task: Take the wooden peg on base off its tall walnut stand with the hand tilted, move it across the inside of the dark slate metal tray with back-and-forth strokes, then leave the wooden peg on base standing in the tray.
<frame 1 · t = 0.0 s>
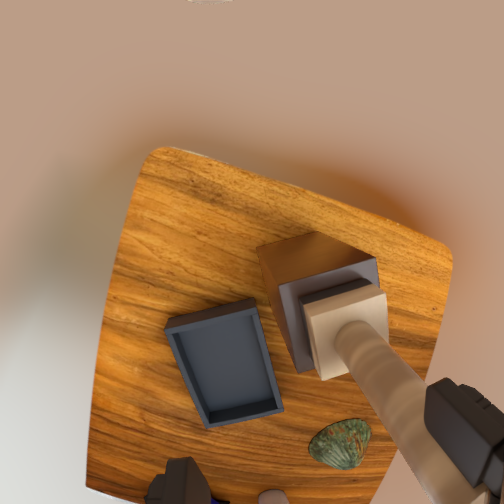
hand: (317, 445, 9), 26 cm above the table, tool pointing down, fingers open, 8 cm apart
stand: (294, 269, 35), on the table
wooden peg on base: (337, 319, 21), point 14 cm above the table, touching gripper, stand
cup: (271, 495, 42), on the table
seashell: (340, 441, 41), on the table
tray: (227, 362, 36), on the table
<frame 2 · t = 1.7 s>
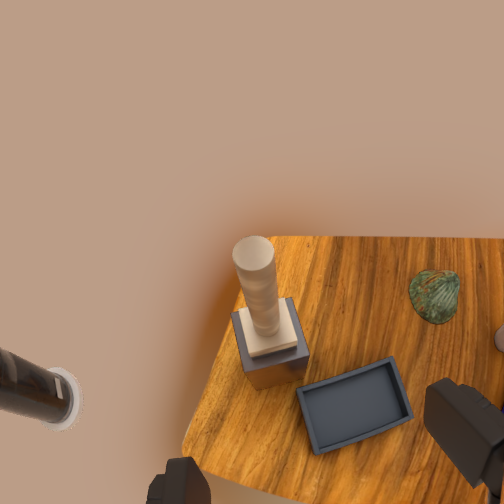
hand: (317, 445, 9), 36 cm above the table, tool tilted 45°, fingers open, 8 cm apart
stand: (274, 362, 45), on the table
wooden peg on base: (268, 333, 33), point 14 cm above the table, touching stand
cup: (502, 340, 40), on the table
seashell: (434, 296, 47), on the table
tray: (352, 407, 40), on the table
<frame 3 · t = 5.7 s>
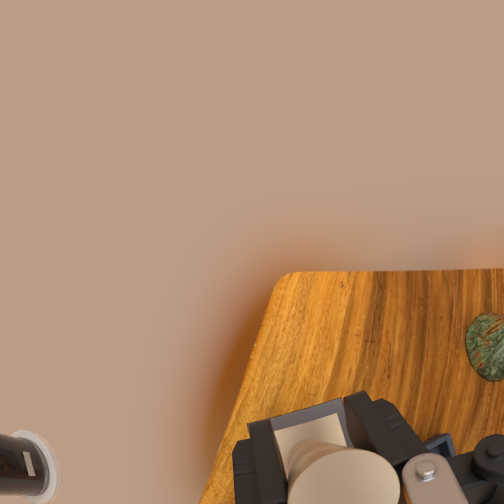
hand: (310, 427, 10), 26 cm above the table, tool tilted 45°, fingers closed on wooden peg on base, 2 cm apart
stand: (300, 447, 30), on the table
wooden peg on base: (306, 455, 18), point 14 cm above the table, touching gripper, stand
seashell: (492, 345, 32), on the table
tray: (396, 493, 25), on the table
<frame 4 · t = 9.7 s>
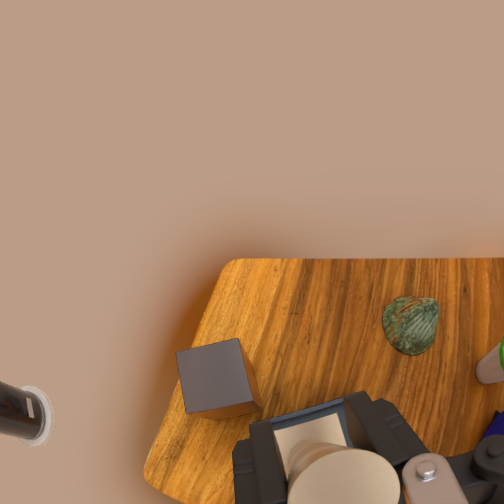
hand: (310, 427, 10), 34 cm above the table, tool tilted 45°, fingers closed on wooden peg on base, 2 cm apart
stand: (234, 393, 42), on the table
wooden peg on base: (306, 455, 18), point 23 cm above the table, touching gripper
cup: (485, 371, 38), on the table
seashell: (411, 324, 45), on the table
tray: (313, 441, 37), on the table
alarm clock: (494, 451, 30), on the table
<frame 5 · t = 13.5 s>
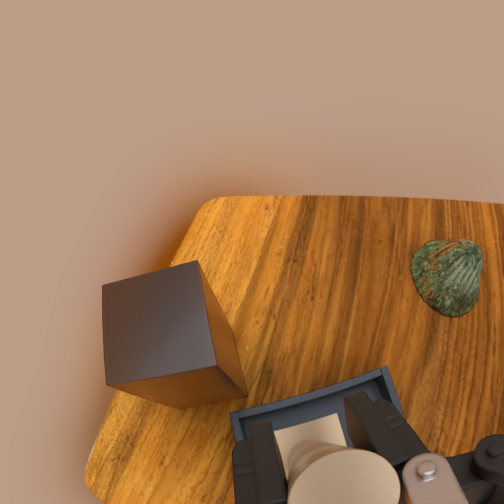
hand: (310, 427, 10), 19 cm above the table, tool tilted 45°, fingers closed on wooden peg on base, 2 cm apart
stand: (206, 370, 30), on the table
wooden peg on base: (306, 455, 18), point 7 cm above the table, touching gripper
seashell: (447, 276, 32), on the table
tray: (322, 443, 25), on the table
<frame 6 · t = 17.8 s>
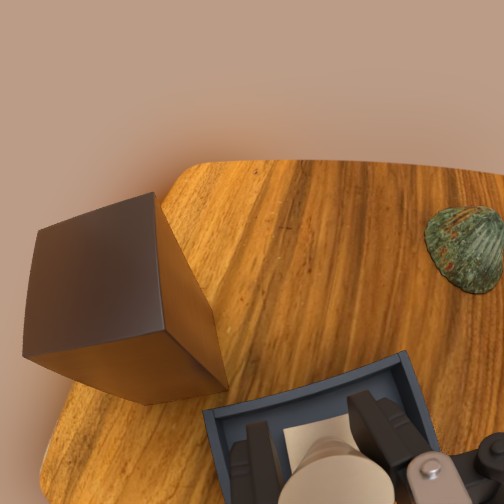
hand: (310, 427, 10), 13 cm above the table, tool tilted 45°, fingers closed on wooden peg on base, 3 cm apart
stand: (178, 357, 24), on the table
wooden peg on base: (328, 451, 18), point 1 cm above the table, tilted 7°, touching gripper
seashell: (466, 249, 27), on the table
tray: (324, 451, 19), on the table
when the fingers open (12 cm above the table, at t = 21.4 s): wooden peg on base stays where it is, resting on tray.
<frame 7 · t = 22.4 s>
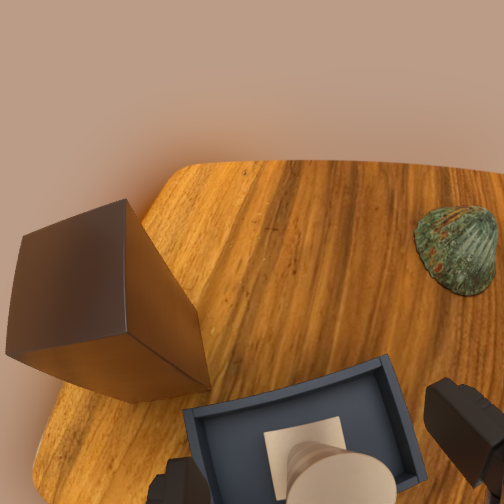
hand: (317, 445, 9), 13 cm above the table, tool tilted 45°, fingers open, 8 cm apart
stand: (163, 357, 24), on the table
wooden peg on base: (306, 456, 18), point 1 cm above the table, touching tray
seashell: (458, 249, 27), on the table
tray: (304, 453, 19), on the table
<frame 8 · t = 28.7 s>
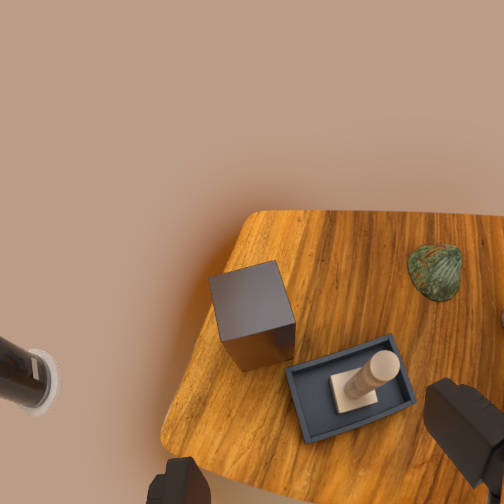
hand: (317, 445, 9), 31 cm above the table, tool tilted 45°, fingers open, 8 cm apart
stand: (261, 341, 42), on the table
wooden peg on base: (350, 392, 36), point 1 cm above the table, touching tray
seashell: (435, 272, 44), on the table
tray: (348, 391, 36), on the table
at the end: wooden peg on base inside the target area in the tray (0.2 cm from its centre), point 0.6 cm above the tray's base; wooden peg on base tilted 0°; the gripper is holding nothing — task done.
